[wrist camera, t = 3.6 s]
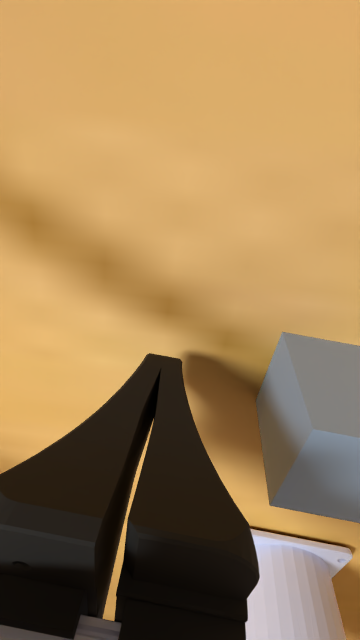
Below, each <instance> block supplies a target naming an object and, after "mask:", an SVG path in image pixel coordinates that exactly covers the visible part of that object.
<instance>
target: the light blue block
mask: <svg viewBox="0 0 360 640" xmlns="http://www.w3.org/2000/svg"><path fill="white" fill-rule="evenodd" d="M256 407H257V414H258V422H259V429H260V437H261V444H262V452H263V459H264V467H265V474H266V482H267V489H268V497H269V504H270V506H275V507H280V508H285V509H290V510H295V511H300V512H305V513H311V514H316V515H321V516H326V517H331V518H336V519H341V520H347V521H352V522H357V523H360V346H357V345H351V344H346V343H340V342H335V341H329V340H324V339H318V338H313V337H307V336H302V335H296V334H291V333H286V332H282V334H281V337H280V339H279V342H278V344H277V347H276V350H275V352H274V355H273V357H272V360H271V362H270V365H269V368H268V370H267V373H266V375H265V378H264V380H263V383H262V386H261V388H260V391H259V393H258V396H257V398H256Z"/></svg>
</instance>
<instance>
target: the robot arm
mask: <svg viewBox="0 0 360 640" xmlns="http://www.w3.org/2000/svg"><path fill="white" fill-rule="evenodd" d="M153 418H154V421H153ZM152 422H153V427H152V431H151V435H150V439H149V443H148V447H147V451H146V455H145V458H144V462H143V466H142V470H141V473H140V477H139V481H138V484H137V488H136V492H135V495H134V499H133V502H132V506H131V510H130V513H129V517H128V523H127V532H126V542H125V551H124V561H123V565H122V570H121V574H120V578H119V583H118V587H117V592H116V596H117V600H116V610H115V621H110V620H105V619H102V618H103V613H104V609H105V604H106V599H107V595H108V590H109V586H110V581H111V577H112V572H113V568H114V563H115V559H116V555H117V550H118V546H119V541H120V537H121V533H122V528H123V524H124V520H125V515H126V511H127V507H128V502H129V498H130V494H131V490H132V485H133V481H134V477H135V474H136V470H137V467H138V464H139V461H140V458H141V455H142V452H143V449H144V446H145V443H146V440H147V437H148V434H149V431H150V428H151V425H152ZM352 557H353V556H352V553H351V550H350V549H349V548H346V547H341V546H336V545H331V544H326V543H321V542H316V541H311V540H306V539H300V538H295V537H290V536H285V535H280V534H275V533H270V532H265V531H260V530H254V529H250V527H249V524H248V522H247V521H246V519H245V518H244V516H243V515H242V513H241V512H240V510H239V509H238V507H237V506H236V504H235V503H234V501H233V499H232V498H231V496H230V495H229V493H228V491H227V489H226V488H225V486H224V484H223V483H222V481H221V479H220V477H219V475H218V473H217V472H216V470H215V468H214V466H213V464H212V462H211V460H210V458H209V456H208V454H207V452H206V450H205V447H204V445H203V443H202V441H201V438H200V436H199V433H198V431H197V428H196V425H195V423H194V420H193V417H192V414H191V410H190V407H189V404H188V400H187V395H186V391H185V387H184V381H183V374H182V361H181V360H180V359H178V358H172V357H167V356H161V355H156V354H151V353H149V354H147V355H146V357H145V358H144V360H143V361H142V363H141V364H140V366H139V367H138V368H137V369H136V371H135V372H134V373H133V374H132V376H131V377H130V378H129V379H128V380H127V381H126V383H125V384H124V385H123V386H122V387H121V388H120V389H119V390H118V391H117V392H116V393H115V394H114V395H113V396H112V397H111V398H110V399H109V400H108V401H107V402H106V403H105V404H104V405H103V406H102V407H101V408H100V409H98V410H97V411H96V412H95V413H94V414H93V415H91V416H90V417H89V418H88V419H87V420H85V421H84V422H83V423H81V424H80V425H79V426H78V427H76V428H75V429H74V430H72V431H71V432H70V433H68V434H67V435H65V436H64V437H62V438H61V439H59V440H58V441H56V442H55V443H53V444H52V445H50V446H49V447H47V448H45V449H44V450H42V451H41V452H39V453H38V454H36V455H34V456H33V457H31V458H29V459H27V460H26V461H24V462H22V463H20V464H18V465H16V466H15V467H13V468H11V469H9V470H7V471H6V472H4V473H2V474H0V640H346V636H345V632H344V628H343V624H342V620H341V616H340V612H339V608H338V604H337V600H336V596H335V592H334V588H333V584H332V580H331V579H332V578H333V577H334V576H335V575H336V574H337V573H338V572H339V571H340V570H341V569H342V568H343V567H344V566H345V565H346V564H347V563H348V562H349V561H350V560H351V559H352Z"/></svg>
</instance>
